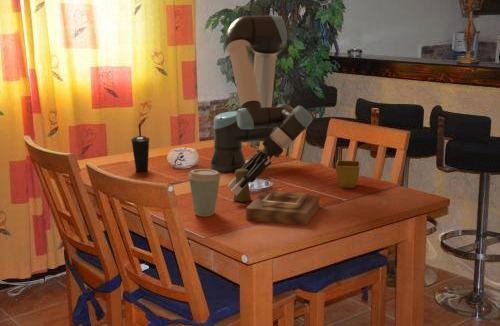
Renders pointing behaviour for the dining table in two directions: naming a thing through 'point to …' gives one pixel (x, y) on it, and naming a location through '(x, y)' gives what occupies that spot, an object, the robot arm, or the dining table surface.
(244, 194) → the pepper mill
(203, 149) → the dining table surface
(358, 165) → the flower pot
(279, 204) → the walnut stand
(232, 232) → the dining table surface
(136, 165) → the drinking cup
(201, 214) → the disposable coffee cup
